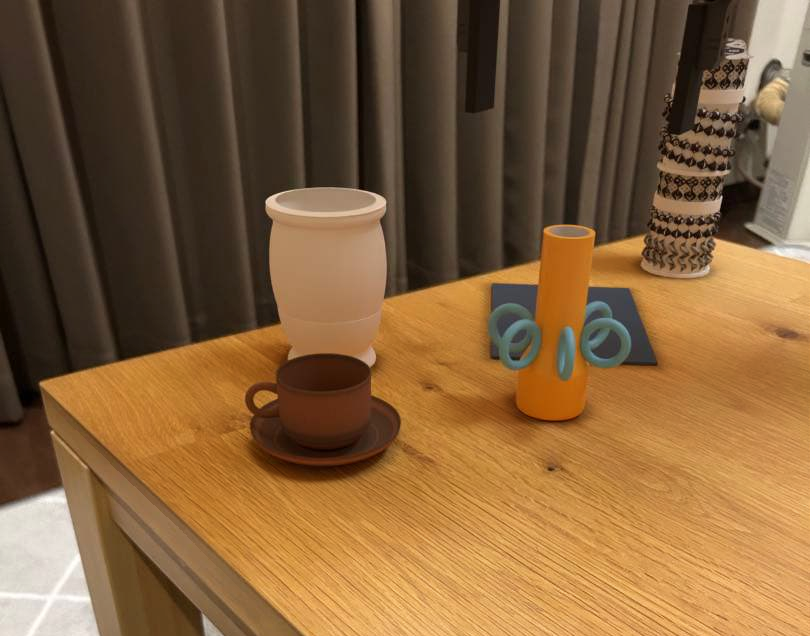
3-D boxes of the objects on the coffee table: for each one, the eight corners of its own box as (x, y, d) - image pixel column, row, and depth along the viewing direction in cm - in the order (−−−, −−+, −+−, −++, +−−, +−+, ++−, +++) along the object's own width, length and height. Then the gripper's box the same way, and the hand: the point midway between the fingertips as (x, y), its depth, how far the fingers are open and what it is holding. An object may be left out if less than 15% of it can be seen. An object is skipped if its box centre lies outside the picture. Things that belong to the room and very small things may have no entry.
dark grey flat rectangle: (657, 365, 83) (657, 362, 83) (491, 358, 85) (491, 355, 84) (628, 290, 102) (629, 288, 101) (492, 285, 103) (492, 282, 102)
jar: (404, 352, 86) (406, 193, 77) (356, 392, 78) (352, 220, 69) (311, 334, 89) (302, 180, 81) (256, 371, 81) (240, 205, 73)
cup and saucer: (274, 492, 64) (267, 417, 60) (237, 423, 73) (229, 353, 69) (423, 463, 67) (425, 390, 64) (370, 400, 77) (369, 334, 73)
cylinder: (535, 449, 69) (555, 261, 61) (458, 401, 77) (466, 227, 68) (643, 412, 75) (675, 236, 67) (562, 371, 82) (581, 207, 74)
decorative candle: (635, 254, 113) (670, 34, 99) (708, 258, 112) (754, 36, 98) (638, 276, 106) (677, 41, 91) (717, 281, 105) (768, 44, 90)
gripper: (373, -338, 45) (377, 109, 57) (891, -419, 35) (762, 152, 47) (444, -308, 51) (434, 96, 63) (913, -371, 40) (792, 131, 52)
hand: (574, 121), depth 55 cm, fingers open, 13 cm apart
